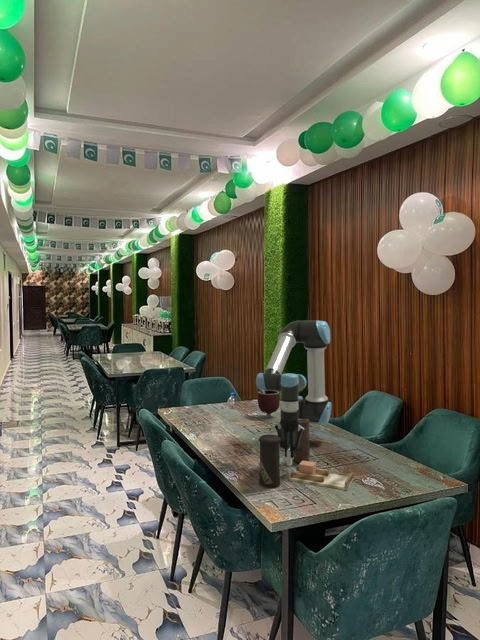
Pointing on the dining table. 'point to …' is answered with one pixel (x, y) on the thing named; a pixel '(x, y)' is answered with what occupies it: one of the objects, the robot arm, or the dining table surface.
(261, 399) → the mate gourd
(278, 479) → the container
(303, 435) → the candle
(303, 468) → the block
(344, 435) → the dining table surface
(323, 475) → the chute
